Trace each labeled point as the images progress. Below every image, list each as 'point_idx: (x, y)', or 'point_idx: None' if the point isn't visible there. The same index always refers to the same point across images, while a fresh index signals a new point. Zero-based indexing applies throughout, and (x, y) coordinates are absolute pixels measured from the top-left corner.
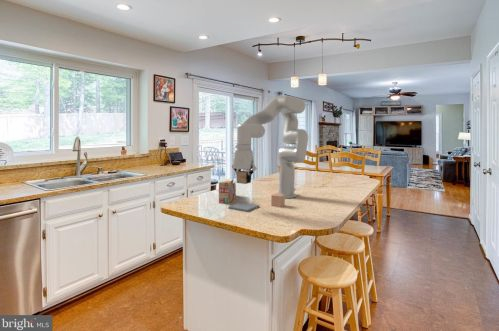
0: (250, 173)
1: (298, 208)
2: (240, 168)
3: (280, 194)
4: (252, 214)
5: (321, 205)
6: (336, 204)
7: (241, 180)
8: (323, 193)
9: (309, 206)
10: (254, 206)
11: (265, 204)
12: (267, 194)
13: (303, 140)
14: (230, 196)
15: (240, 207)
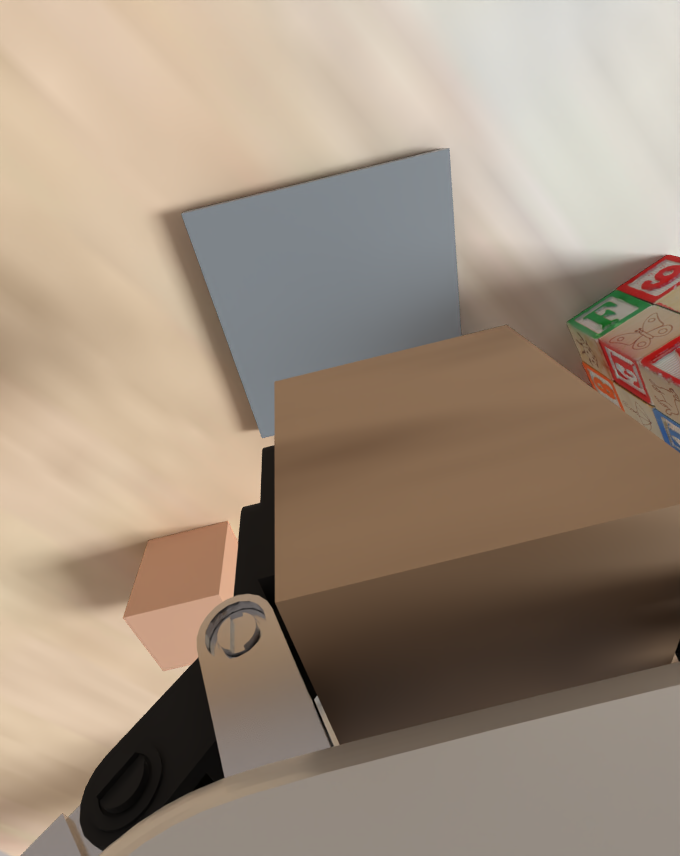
0: (195, 681)
1: (33, 600)
2: (650, 708)
3: (192, 654)
4: (55, 170)
5: (28, 719)
6: (4, 771)
7: (394, 388)
8: None
9: (44, 668)
10: (252, 375)
11: None
12: None
13: None
14: (616, 386)
15: (319, 235)
